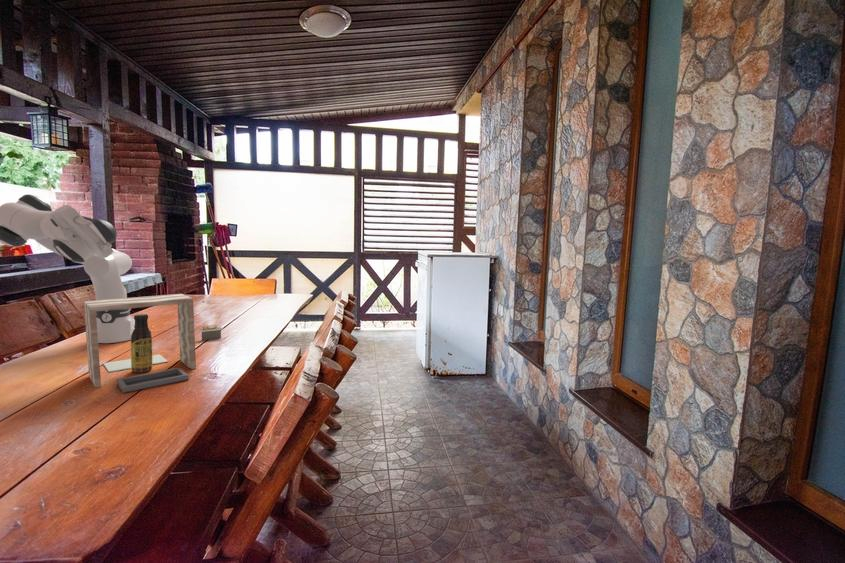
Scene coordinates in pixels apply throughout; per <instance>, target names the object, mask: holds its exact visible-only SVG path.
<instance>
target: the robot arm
mask: <svg viewBox="0 0 845 563" xmlns="http://www.w3.org/2000/svg"><path fill="white" fill-rule="evenodd" d="M117 233H118V231H117V229H116V227H115V226H114V225H113V224H112V223H110V222H109V221H106V219H105V220H104V219H101V218H100V219H99V218H91V217H87V216H83V215H82V214H80V212H79V211H78V210H77V209H76V208H75V207H74V206H72V205H69V204H64V205H61V206H59V207H58V208H56V209H55V210H53V209H52V207H51V205H50V204H49V203H48V202H47V201H46V200H45V199H44V198H41V197H40V196H38V195H32V194H24V195H22V196H21V197H19V198H18V200H17V201H16V202H6V203H2V205H0V243H1V244H2V245H5V246H9V247H15V248H18V247H19V248H20V247H23V246H24V245H25V244H27V243H28V241H29V240H34V241H35V242H37V243H39V245H41V246H43V247H44V248H46V249H47V250H49V251H51V252H53V253H55V254H57V255H59V256H62V257H64V258H65V259H67V260H69V261H71V262H73V263H77V264H82V265H83V269H84V271H85V273H86V274H87V275H88V276H89V277H90V280H91V282H92V285H93V288H94V292H95V300H107V299H119V298H128V294H127V289H126V287H125V286H124V284H123V282H122V278H121V276H122V275H124V274H126V273H128V272H129V271H130V269H131V268H132V265H133V261H132V258H131V257H130V255H129V254H127V253H124V252H122V251H119V250H117V249H114V248H112V244H113V243H115V242H116V241H117V237H118V236H117ZM130 311H132V308H128V309H118V310H107V311H96V320H97V334H98V344H112V343H114V344H115V343H121V342H127V341H131V335H132V333H133V331H134V329H135V319H134V317H133V316H131V312H130Z"/></svg>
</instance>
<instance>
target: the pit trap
mask: <svg viewBox="0 0 845 563" xmlns="http://www.w3.org/2000/svg"><path fill="white" fill-rule="evenodd" d="M185 380H186V381H189V374H188V373H187V372H186V371H184V369H182V368H181V367H176V368H169V369H164V370H159V371H153V372H149V373H143V374H137V375H131V376H127V377H121V378H116V385H117V387H118V388H119V389H120V391H121V392H122V394H126V393H132V391H133V392H136V391H141V390H147V389H152V388H156V387H162V386H166V384H167V385H170V384H171V383H172V384H175V383H176V382H177V383H180V381H182V382H186V381H185Z"/></svg>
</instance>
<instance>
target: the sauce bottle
mask: <svg viewBox="0 0 845 563" xmlns="http://www.w3.org/2000/svg"><path fill="white" fill-rule="evenodd" d="M133 319H135V329H134V331H133V333H132V335H131V340H130V359H131V367H132V369H131V372H133V373H136V374H138V373H139V374H140V373H146V372H149V371H152V369H153V367H152V366H153V365H152V355H153V337H152V331H151V330H150V328H149V324H148V323H149V322H148V319H149V314H146V313H138V314H134V315H133Z"/></svg>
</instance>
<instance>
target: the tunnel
mask: <svg viewBox="0 0 845 563" xmlns="http://www.w3.org/2000/svg"><path fill="white" fill-rule="evenodd" d="M169 305H170V306H171V305H177V318H178V320H177V321H178V323H177V324H178V338H179V339H178V341H179V342H178V343H179V360H180V362H181V363H183V364H184V365H185V366H187V367H188V368H189V369H190V368H191V369H190V370H196V369H197V361H196V360H197V358H196V338H195V337H196V335H195V334H196V333H195V314H194V311H195V310H194V298H193V297H191V296H188V295H186V294H183V293H172V294H160V295H158V294H157V295H149V296H148V295H147V296H137V297H135V296H133V297H127V298H119V299H107V300H96V299H95V300H83V312H84V324H85V338H86V350H87V363H88V364H87V365H88V376H89V379H90V381H91V383H92V384H93V386H94V388H95V389H97V388H101V387H102V382H101V381H102V379H101V364H100V363H101V362H100V353H99V352H100V351H99V343H98V334H97V320H96V319H97V318H96V311H107V310H118V309H128V308H131V309H137V308H148V307H158V306H161V307H162V306H169ZM195 368H196V369H195Z"/></svg>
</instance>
